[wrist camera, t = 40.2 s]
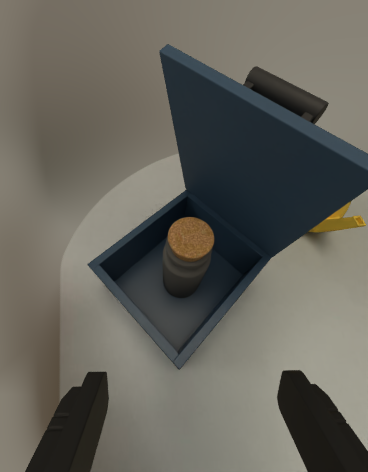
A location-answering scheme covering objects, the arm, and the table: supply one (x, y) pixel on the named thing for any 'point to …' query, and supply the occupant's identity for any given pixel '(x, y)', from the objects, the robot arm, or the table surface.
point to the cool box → (151, 277)
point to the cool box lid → (259, 151)
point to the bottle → (186, 256)
